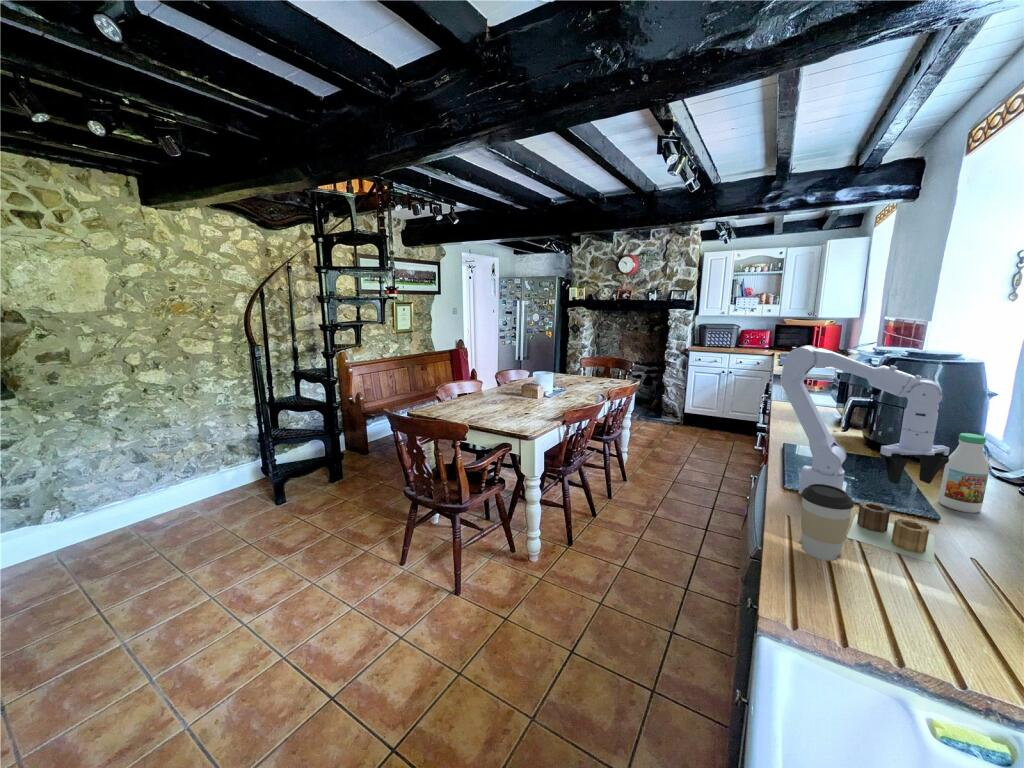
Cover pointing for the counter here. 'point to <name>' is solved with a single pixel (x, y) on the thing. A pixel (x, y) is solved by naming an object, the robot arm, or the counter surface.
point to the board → (889, 541)
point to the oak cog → (910, 535)
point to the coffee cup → (824, 520)
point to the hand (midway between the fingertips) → (909, 482)
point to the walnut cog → (873, 517)
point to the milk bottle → (965, 475)
